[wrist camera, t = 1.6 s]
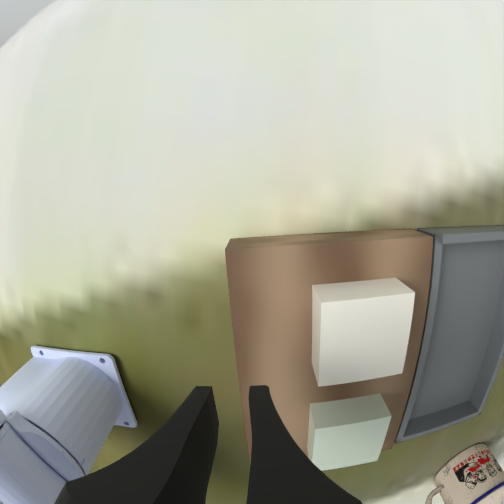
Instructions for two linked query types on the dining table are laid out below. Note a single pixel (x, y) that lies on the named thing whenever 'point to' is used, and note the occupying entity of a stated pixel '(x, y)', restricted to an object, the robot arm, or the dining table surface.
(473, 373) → the box
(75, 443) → the robot arm
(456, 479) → the teacup with lid
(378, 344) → the cream tile
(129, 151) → the dining table surface
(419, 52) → the dining table surface
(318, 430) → the sage tile
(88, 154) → the dining table surface
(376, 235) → the walnut plate
